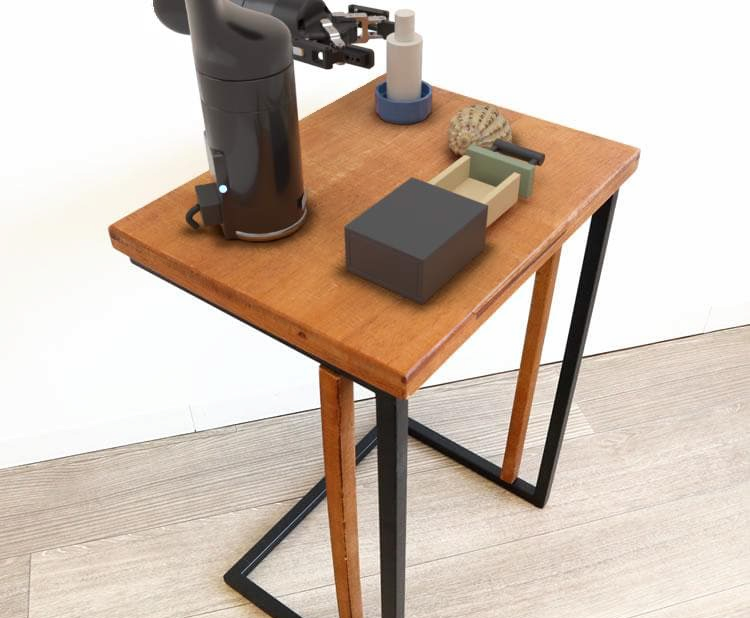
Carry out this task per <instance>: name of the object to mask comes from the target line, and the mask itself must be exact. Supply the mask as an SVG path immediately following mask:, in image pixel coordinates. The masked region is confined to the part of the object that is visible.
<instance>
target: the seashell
mask: <svg viewBox="0 0 750 618" xmlns="http://www.w3.org/2000/svg"><path fill="white" fill-rule="evenodd" d="M446 135H447V141H446V143H447V144H448V147H449V149H450V150H452V151H453V153H455V155H456V156H460V157H462V156H464V155H466V149H467V148H468V147H469V146H471V145H475V146H478V147H481V148H484V149H487V150H488V149H490V148H491V147H492V146H493V143H494V141H495V139H497V138H498V139H501V140H504V141H507V142H510V143H513V133H512V126H511V123H510V122H509V120H508V118H507V117H506V116H505V115H502V113H501V112H500V110H499V108H497V107H492V106H491V105H490V104H485V105H482V104H476V103H473V104H471V106H468V107H465V108H461V109H459V110H458V111H457V114H456V115H455V116H453V117H452V118H451V119H450V120H449V126H448V127H447V129H446ZM496 153H499V152H496ZM499 154H502V153H499ZM502 155H503V154H502Z"/></svg>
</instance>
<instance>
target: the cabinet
mask: <svg viewBox="0 0 750 618" xmlns="http://www.w3.org/2000/svg"><path fill="white" fill-rule="evenodd" d="M487 215H488V205H486V204H483V203H480V202H477V201H475V200H472V199H469V198H467V197H464V196H461V195H459V194H456V193H453V192H451V191H448V190H445V189H443V188H440V187H437V186H435V185H432V184H429V183H428V182H426V181H424V180H420V179H418V178H416V177H413V176H411V177H410V178H408V179H407V180H406V181H403V183H402V184H400V185H398V186H397V187H396V188H394V189H393V190H392V191H390V192H389V193H388V194H386V195H385V196H383V198H381V199H379V200H378V201H377V202H375V203H374V204H373V205H371V206H370V207H369V208H367V209H366V210H364V211H363V212H362V213H360V214H359V215H358V216H356V217H355V218H354V219H352V220H351V221H349V222H348V223H347V224H345V225H344V226H343V231H344V253H345V254H344V256H345V271H347V272H349V273H350V274H353V275H355V276H358V277H359V278H362V279H364V280H366V281H368V282H371V283H373V284H374V285H377V286H380V287H381V288H384V289H386V290H389V291H391V292H392V293H394V294H398V295H400V296H402V297H403V298H406V299H408V300H411V301H413V302H415V303H416V304H420V305H423V304H425V303H426V302H427V301H428V300H429V299H430V298H431V297H433V296H434V295H435V294H436V293H437V292H438V291H439V290H441V289H442V287H444V286H445V285H446V284H447V283H448V282H449V281H451V279H453V278H454V277H455V276H456V275H457V274H458V273H459V272H460V271H462V270H463V269H464V268H465V267H466V266H468V264H469V263H471V262H472V261H473V260H474V259H475V258H476V257H478V256H479V254H481V253H482V252H483V251H484V250H485V246H486V244H485V243H486V236H487V228H486V226H487Z"/></svg>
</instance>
